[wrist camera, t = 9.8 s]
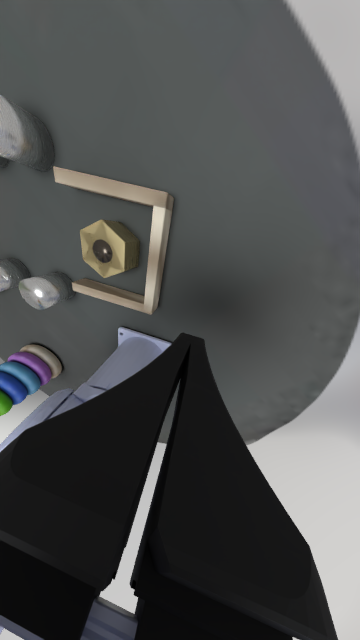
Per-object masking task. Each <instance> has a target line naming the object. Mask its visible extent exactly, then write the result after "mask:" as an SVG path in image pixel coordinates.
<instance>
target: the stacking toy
mask: <svg viewBox="0 0 360 640" xmlns="http://www.w3.org/2000/svg"><path fill="white" fill-rule="evenodd" d="M61 370H62V366H61V363H60V361H59V360H58V358H57V357H56V356H55V355H54V354H53V353H52V352H51V351H49V350H48V349H46V348H44V347H42V346H39V345H27V346H24V347H23V348H22V349H21V350H20V352H17V353H14V354H13V355H11V356H10V357H9V359H8V362H5V363H3V364H1V365H0V416H1V415H4V414H6V413H7V412H8V411H9V410H10V409H11V408H12V405H15V404H18V403H21V402H22V401H23V400H24V399H25V398H26V396H27V395H31V394H33V393H35V392H36V391H37V390H38V389H39V388H40V386H42V385H45V384H46V383H48V382H49V381H50V379H52V378H55V377H57V376H58V375H59V374H60V373H61Z"/></svg>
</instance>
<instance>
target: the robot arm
mask: <svg viewBox="0 0 360 640" xmlns="http://www.w3.org/2000/svg"><path fill="white" fill-rule="evenodd" d="M122 333H123V334H122ZM180 378H181V379H180ZM179 380H180V385H179V390H178V396H177V401H176V407H175V412H174V417H173V422H172V427H171V430H170V434H169V438H168V442H167V446H166V449H165V453H164V457H163V461H162V464H161V468H160V472H159V476H158V479H157V483H156V487H155V490H154V494H153V498H152V502H151V505H150V510H149V513H148V517H147V520H146V524H145V528H144V531H143V535H142V539H141V543H140V546H139V550H138V554H137V557H136V561H135V565H134V569H133V573H132V576H131V580H130V586H131V588H133V589H135V591H134V595H135V596H137V597H138V602H137V606H136V611H135V614H133V613H131V612H129V611H127V610H125V609H123V608H121V607H119V606H117V605H115V604H113V603H111V602H109V601H107V600H105V599H103V598H101V597H99V595H100V592H101V591H103V590H104V589H105V588H106V587H107V586H108V585H109V584H110V583H111V581H112V579H115V577H116V573H117V570H118V567H119V563H120V561H121V557H122V554H123V551H124V548H125V547H126V544H127V542H128V538H129V535H130V532H131V528H132V525H133V522H134V518H135V515H136V512H137V508H138V505H139V501H140V498H141V495H142V491H143V488H144V485H145V482H146V478H147V475H148V472H149V468H150V465H151V462H152V458H153V455H154V451H155V448H156V445H157V442H158V439H159V435H160V432H161V429H162V425H163V422H164V419H165V416H166V414H167V411H168V409H169V406H170V403H171V401H172V398H173V396H174V393H175V391H176V388H177V386H178V383H179ZM73 391H74V390H72V389H71V388H66V389H65V390H59V391H57V392H55V393H54V394H52V395H51V396H50V397H49V398H47V399H46V400H45V401H44V402H43V403H42V404H41V405H39V406H38V407H37V408H36V409H35V410H34V411H33V412H32V413H31V414H30V415H29V416H28V417H27V418H26V419H25V420H24V421H23V422H22V423H21V424H20V425H19V426H18V427H17V428H16V429H15V430H14V431H13V432H12V433H11V434H10V435H9V436H8V437H7V438H6V439H5V440H4V441H3V442H2V443H1V444H0V633H1V632H2V630H3V629H4V628H5V629H7V630H8V631H10V632H12V633H14V634H15V635H17V636H19V637H21V638H22V639H24V640H293V639H292V637H295V638H297V639H300V640H338V638H337V635H336V631H335V628H334V624H333V621H332V617H331V614H330V611H329V607H328V603H327V599H326V596H325V593H324V589H323V586H322V582H321V579H320V576H319V573H318V571H317V568H316V565H315V562H314V560H313V556H312V553H311V550H310V547H309V545H308V544H307V542H306V541H305V539H304V537H303V536H302V534H301V533H300V532H299V530H298V528H297V527H296V525H295V524H294V522H293V521H292V519H291V518H290V516H289V515H288V514H287V512H286V510H285V509H284V507H283V505H282V504H281V502H280V501H279V499H278V498H277V496H276V495H275V493H274V491H273V490H272V488H271V487H270V485H269V483H268V482H267V480H266V479H265V477H264V475H263V474H262V472H261V470H260V469H259V467H258V465H257V464H256V462H255V460H254V459H253V457H252V455H251V453H250V452H249V450H248V448H247V446H246V444H245V443H244V441H243V439H242V437H241V435H240V434H239V432H238V430H237V428H236V426H235V424H234V423H233V421H232V418H231V416H230V414H229V412H228V410H227V408H226V406H225V404H224V402H223V399H222V397H221V395H220V393H219V390H218V388H217V385H216V382H215V380H214V377H213V374H212V371H211V368H210V364H209V361H208V357H207V353H206V348H205V341H204V339H202V338H199V337H195V336H192V335H188V334H185V333H181V334H180V335H179V336H178V337H177V339H176V340H175V341H174V342H173V343H170V342H167V341H164V340H161V339H158V338H155V337H152V336H149V335H146V334H143V333H140V332H136V331H133V330H130V329H127V328H124V327H120V328H119V329H118V348H117V349H116V350H115V351H114V352H113V353H112V355H111V356H110V357H109V358H108V359H107V360H106V361H105V362H104V363H103V364H102V365H101V367H100V368H99V369H98V370H97V371H96V372H95V373H94V374H93V375H92V376H91V377H90V379H89V380H88V381H87V382H86V383H83V384H82V385H81V386H80V387H79V388H78V389H77V390H76V391H75V392H74V393H73ZM72 393H73V394H72Z"/></svg>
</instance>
